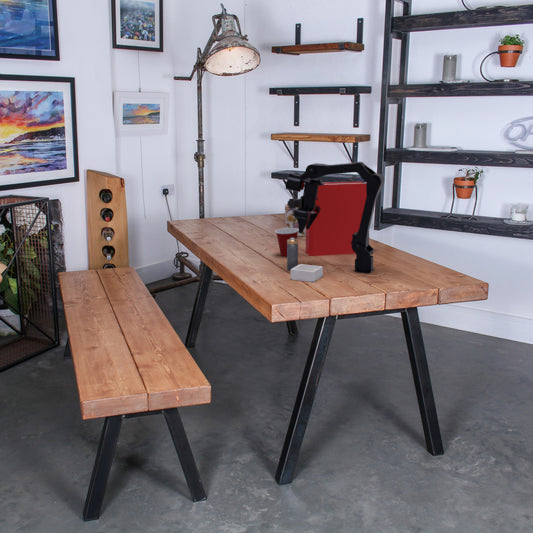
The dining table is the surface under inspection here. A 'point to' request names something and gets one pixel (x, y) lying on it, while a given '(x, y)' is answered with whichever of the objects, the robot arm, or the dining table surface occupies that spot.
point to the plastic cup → (285, 238)
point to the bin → (306, 273)
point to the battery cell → (292, 253)
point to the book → (336, 218)
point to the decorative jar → (292, 220)
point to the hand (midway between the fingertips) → (303, 231)
